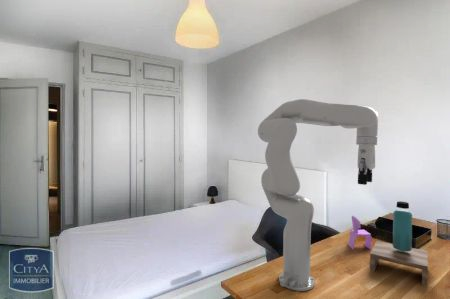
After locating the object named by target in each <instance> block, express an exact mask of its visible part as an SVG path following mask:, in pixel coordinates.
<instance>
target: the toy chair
mask: <svg viewBox="0 0 450 299" xmlns="http://www.w3.org/2000/svg"><path fill="white" fill-rule="evenodd" d="M351 222H352V229H350V233H349V240H348V242H347V246H348V247H350V248H351V249H352V250H354V249H355V243H356V239H357V238H358V237H365V241H364V244H363V245H364V246H365V247H366V248H367V249H369V250H371V251H372V240H373V238H372V234H371V233H370V232H368V231H367V230H365V229H361V228H362V226H361V221H360V220H359V219H358V217H356V216H355V215H352V216H351Z"/></svg>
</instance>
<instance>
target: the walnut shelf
mask: <svg viewBox="0 0 450 299" xmlns="http://www.w3.org/2000/svg"><path fill="white" fill-rule="evenodd" d="M428 253H429V251H428V250H424V249H419V248H414V247H412V249H411V251H400V250H397V249H395V248H394V247H393V243H390V242H389V243H388V242H384V241H379V240H376V241H375V243H374V245H373V247H372V248H371V251H370V253H369V254H370V255H369V256H370V257H369V271H370V272H374V273H375V271H376V269H377V266H378V264H379V261H380V260H381V261H385V262H389V263H392V264H398V265H402V266H406V267H411V268H413V269H414V268H415V269H419V270H421V272H422V273H421V284H422V286H425V287H428V277H429V276H428V273H429V272H428V271H429V270H428V269H429V267H428V266H429V264H428V262H429V259H428V258H429V254H428Z"/></svg>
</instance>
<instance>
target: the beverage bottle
mask: <svg viewBox="0 0 450 299" xmlns="http://www.w3.org/2000/svg"><path fill="white" fill-rule="evenodd" d="M409 205H410V204H409V202H407V201H397V202H396V208H399V209H396V210H394V211H393V216H392V220H393V221H392V243H391V244H393V247H394V248H395V249H397V250H400V251H411V249H412V248H413V247H412V246H413V214H412V213H411V212H410V211H409V210H408V209H410V206H409Z"/></svg>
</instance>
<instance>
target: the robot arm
mask: <svg viewBox="0 0 450 299" xmlns="http://www.w3.org/2000/svg"><path fill="white" fill-rule="evenodd" d="M297 124H307V125H315V126H321V127H322V126H324V127H342V128H343V129H356V141H355V142H356V143H355V144H356V146H357V145H358V149H357V169H358V172H357V184H358V185H363V186H365V185H367V184H368V183H372V182H373V169H375V167H376V147H375V146H378V131H379V130H378V129H379V128H378V127H379V126H378V124H379V113H378V112H377V111H375V109H373V108H372V107H369V106H364V105H359V104H358V105H357V104H343V103H328V102H323V101H316V100H311V99H305V98H303V99H302V98H301V99H295V100H290V101H286V102H284V103H282V104H281V105H279V106H278V107H277V108H276V109H275V110H273V112H271V113H270V114H269V115H267V116H266V118H264V119H263V120H262V121H261V122H260V123H259V125H258V128H257V135H258V137H259V139H260V140H262V142H265V143H267V146H266V149H265V152H264V158H265V163H266V166H267V168H266V169H264V171H263V172H262V175H261V179H260V180H261V187H262V189H263V192H264V194H265V196H266V200H267V202H268V204H269V207H270V208H271V210H272V211H273V212H274V214H276V215H277V216H280V217H282V218H284V219H285V220H286V224H285V225H284V228H283V234H282V235H283V244H282V245H283V246H282V247H283V249H282V250H283V252H282V257H283V260H282V266H283V267H282V272H281V273H280V274H279V275H278V280H279V285H280V286H281V287H285V288H286V289H289V290H292V291H295V292H296V291H298V292H304V291H310V290H311V289H313V288H314V287H315V279H314V277H313V276H312V275H311V249H312V248H311V240H312V238H311V236H312V235H311V233H312V224H313V219H314V214H315V209H314V205H313V203H312V202H311V200H309V199H308V198H306V197H304V196H302V195H299V194H298V193H299V191H300V188H301V183H300V179H299V176H298V174H297V171H296V168H295V166H294V164H293V159H292V158H291V148H292V145H293V143H294V140H295V138H296V136H297V132H298V128H297Z"/></svg>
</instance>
